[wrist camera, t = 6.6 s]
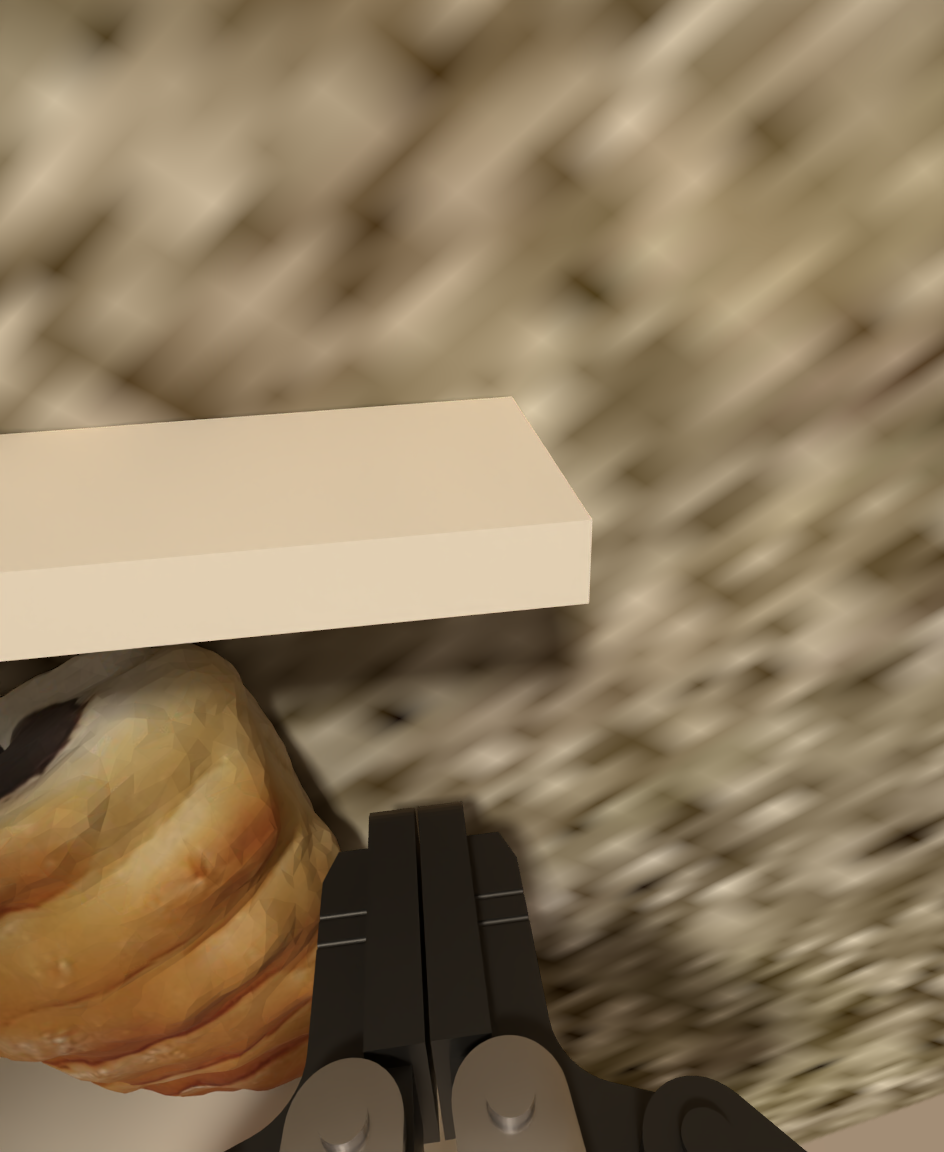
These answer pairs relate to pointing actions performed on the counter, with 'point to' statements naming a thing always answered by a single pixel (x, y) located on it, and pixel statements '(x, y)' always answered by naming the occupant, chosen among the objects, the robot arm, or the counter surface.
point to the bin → (261, 604)
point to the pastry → (155, 877)
